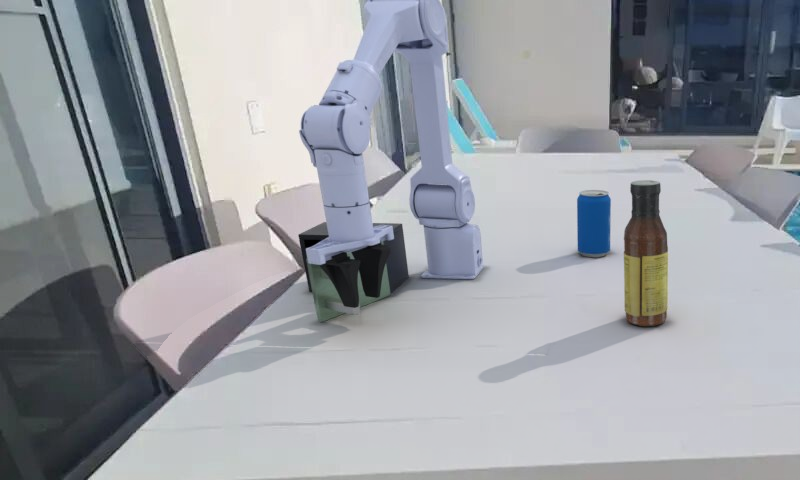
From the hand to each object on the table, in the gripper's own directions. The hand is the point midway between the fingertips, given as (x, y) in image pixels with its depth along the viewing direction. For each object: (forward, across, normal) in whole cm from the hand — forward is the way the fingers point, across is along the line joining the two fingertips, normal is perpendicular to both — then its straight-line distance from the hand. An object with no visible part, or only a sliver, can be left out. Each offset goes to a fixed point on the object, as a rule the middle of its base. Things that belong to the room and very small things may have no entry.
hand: (362, 301), depth 89 cm
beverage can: (+4, +48, -15) cm, 51 cm away
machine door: (+4, +5, +4) cm, 7 cm away
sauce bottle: (+4, +17, -36) cm, 40 cm away
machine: (+4, +15, +14) cm, 21 cm away
